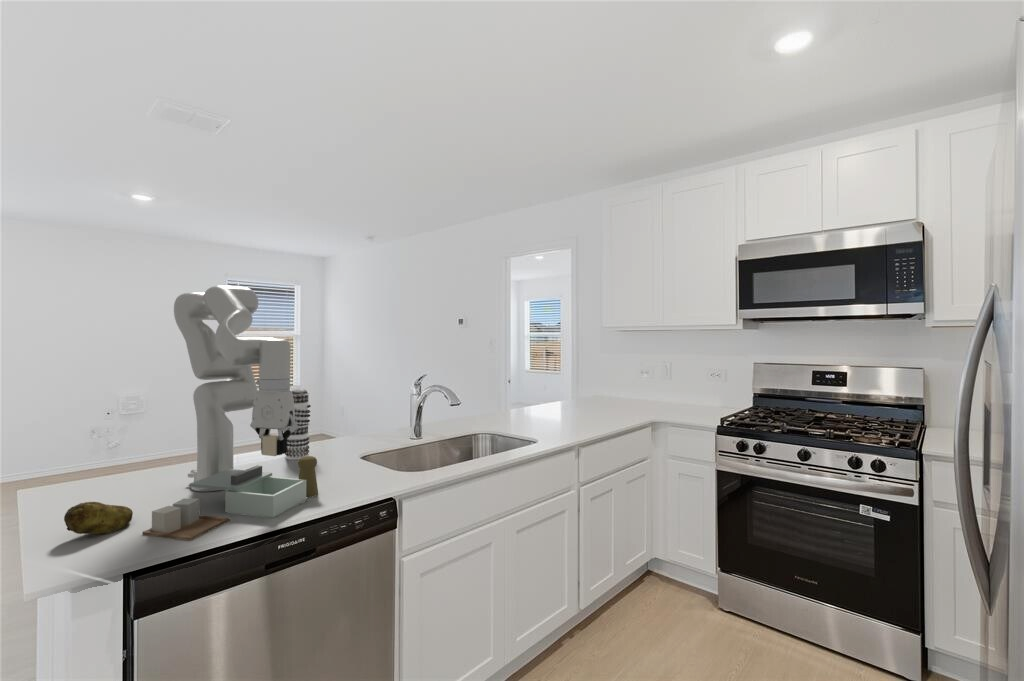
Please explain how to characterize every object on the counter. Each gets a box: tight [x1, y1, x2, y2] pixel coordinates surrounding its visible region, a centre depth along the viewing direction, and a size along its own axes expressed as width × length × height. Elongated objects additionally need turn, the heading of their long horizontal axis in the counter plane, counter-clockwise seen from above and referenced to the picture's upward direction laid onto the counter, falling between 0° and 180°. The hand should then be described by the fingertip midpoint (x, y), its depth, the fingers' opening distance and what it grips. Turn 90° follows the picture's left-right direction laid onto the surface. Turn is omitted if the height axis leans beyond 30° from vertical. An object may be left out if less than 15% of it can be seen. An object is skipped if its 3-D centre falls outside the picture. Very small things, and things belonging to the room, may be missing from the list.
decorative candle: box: [284, 388, 312, 460], centre depth 187 cm, size 9×9×25 cm
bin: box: [224, 476, 307, 519], centre depth 135 cm, size 14×14×6 cm
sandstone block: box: [261, 432, 279, 457], centre depth 134 cm, size 4×4×5 cm
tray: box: [141, 514, 231, 542], centre depth 120 cm, size 13×12×1 cm
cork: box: [297, 455, 319, 498], centre depth 146 cm, size 6×6×11 cm
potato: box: [63, 501, 134, 536], centre depth 117 cm, size 8×13×8 cm, turn 138°
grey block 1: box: [151, 505, 181, 533], centre depth 118 cm, size 4×4×5 cm
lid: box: [189, 464, 273, 491], centre depth 137 cm, size 14×14×3 cm
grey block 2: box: [172, 498, 200, 525], centre depth 124 cm, size 4×4×5 cm
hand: (274, 452), depth 134 cm, fingers closed on sandstone block, 4 cm apart
